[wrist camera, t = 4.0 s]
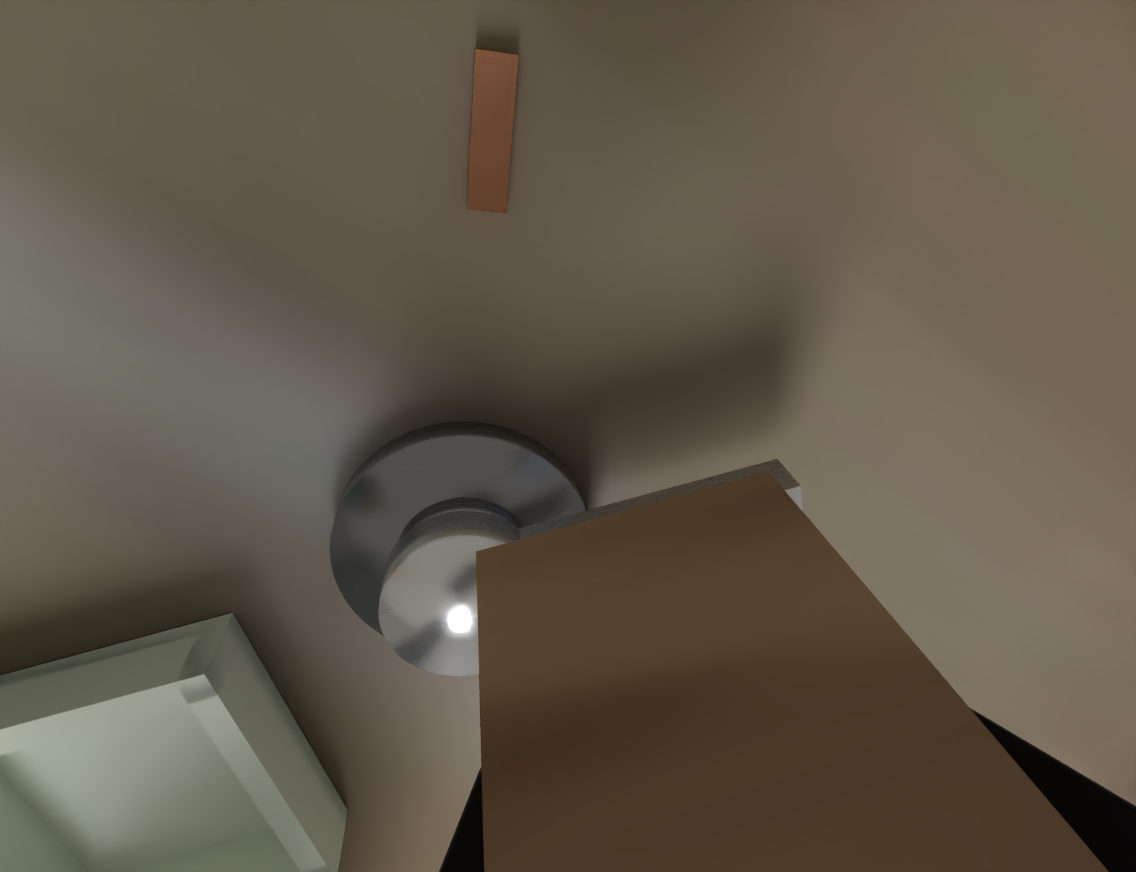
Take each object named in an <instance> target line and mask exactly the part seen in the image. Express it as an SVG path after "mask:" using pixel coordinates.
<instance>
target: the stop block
mask: <svg viewBox="0 0 1136 872" xmlns="http://www.w3.org/2000/svg"><path fill="white" fill-rule="evenodd" d="M476 575H477V613H478V651H479V689H480V727H481V765H482V803H483V841H484V872H1109V871H1108V870H1107V869H1106V868H1105V867H1104V866H1103V864H1102V863H1101V862H1100V861H1099V860H1098V858H1097V857H1096V856H1095V855H1094V854H1093V853H1092V851H1091V850H1090V849H1089V848H1088V847H1087V846H1086V844H1085V843H1084V842H1083V841H1082V840H1081V838H1080V837H1079V836H1078V835H1077V834H1076V833H1075V831H1074V830H1073V829H1072V828H1071V827H1070V826H1069V824H1068V823H1067V822H1066V821H1065V820H1064V818H1063V817H1062V816H1061V815H1060V814H1059V813H1058V811H1057V810H1056V809H1055V808H1054V807H1053V806H1052V804H1051V803H1050V802H1049V801H1048V800H1047V798H1046V797H1045V796H1044V795H1043V794H1042V793H1041V791H1040V790H1039V789H1038V788H1037V787H1036V786H1035V784H1034V783H1033V782H1032V781H1031V780H1030V778H1029V777H1028V776H1027V775H1026V774H1025V773H1024V771H1023V770H1022V769H1021V768H1020V767H1019V766H1018V764H1017V763H1016V762H1015V761H1014V760H1013V758H1012V757H1011V756H1010V755H1009V754H1008V753H1007V751H1006V750H1005V749H1004V748H1003V747H1002V746H1001V744H1000V743H999V742H998V741H997V740H996V738H995V737H994V736H993V735H992V734H991V733H990V731H989V730H988V729H987V728H986V727H985V726H984V724H983V723H982V722H981V721H980V720H979V718H978V717H977V716H976V715H975V714H974V713H973V711H972V710H971V709H970V708H969V707H968V706H967V704H966V703H965V702H964V701H963V700H962V698H961V697H960V696H959V695H958V694H957V693H956V691H955V690H954V689H953V688H952V687H951V686H950V684H949V683H948V682H947V681H946V680H945V678H944V677H943V676H942V675H941V674H940V673H939V671H938V670H937V669H936V668H935V667H934V666H933V664H932V663H931V662H930V661H929V660H928V658H927V657H926V656H925V655H924V654H923V653H922V651H921V650H920V649H919V648H918V647H917V646H916V644H915V643H914V642H913V641H912V640H911V638H910V637H909V636H908V635H907V634H906V633H905V631H904V630H903V629H902V628H901V627H900V626H899V624H898V623H897V622H896V621H895V620H894V618H893V617H892V616H891V615H890V614H889V613H888V611H887V610H886V609H885V608H884V607H883V606H882V604H881V603H880V602H879V601H878V600H877V598H876V597H875V596H874V595H873V594H872V593H871V591H870V590H869V589H868V588H867V587H866V586H865V584H864V583H863V582H862V581H861V580H860V578H859V577H858V576H857V575H856V574H855V573H854V571H853V570H852V569H851V568H850V567H849V566H848V564H847V563H846V562H845V561H844V560H843V558H842V557H841V556H840V555H839V554H838V553H837V551H836V550H835V549H834V548H833V547H832V546H831V544H830V543H829V542H828V541H827V540H826V538H825V537H824V536H823V535H822V534H821V533H820V531H819V530H818V529H817V528H816V527H815V526H814V524H813V523H812V522H811V521H810V520H809V518H808V517H807V516H806V515H805V514H804V513H803V511H802V510H801V509H800V508H799V507H798V506H797V504H796V503H795V502H794V501H793V500H792V498H791V497H790V496H789V495H788V494H787V493H786V491H785V490H784V489H783V488H782V487H781V486H780V484H779V483H778V482H777V481H776V480H775V478H774V477H773V476H772V475H771V474H770V473H769V471H768V472H765V473H761V474H757V475H754V476H750V477H746V478H743V479H739V480H735V481H732V482H728V483H724V484H721V485H717V486H713V487H710V488H706V489H702V490H699V491H695V492H691V493H688V494H684V495H681V496H677V497H673V498H670V499H666V500H662V501H659V502H655V503H651V504H648V505H644V506H640V507H637V508H633V509H629V510H626V511H622V512H618V513H615V514H611V515H607V516H604V517H600V518H596V519H593V520H589V521H585V522H582V523H578V524H574V525H571V526H567V527H563V528H560V529H556V530H552V531H549V532H545V533H541V534H538V535H534V536H530V537H527V538H523V539H519V540H516V541H512V542H509V543H505V544H501V545H498V546H494V547H490V548H487V549H483V550H479V551H476Z"/></svg>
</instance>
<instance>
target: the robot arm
mask: <svg viewBox="0 0 1136 872" xmlns="http://www.w3.org/2000/svg"><path fill="white" fill-rule="evenodd" d="M970 709H971V708H970ZM971 710H972V709H971ZM972 711H973V713H974V714H975V715H976V716H977V717H978V718H979V720H980V721H981V722H982V723H983V724H984V726H985V727H986V728H987V729H988V730H989V731H990V733H991V734H992V735H993V736H994V737H995V738H996V740H997V741H998V742H999V743H1000V744H1001V746H1002V747H1003V748H1004V749H1005V750H1006V751H1007V753H1008V754H1009V755H1010V756H1011V757H1012V758H1013V760H1014V761H1015V762H1016V763H1017V764H1018V766H1019V767H1020V768H1021V769H1022V770H1023V771H1024V773H1025V774H1026V775H1027V776H1028V777H1029V778H1030V780H1031V781H1032V782H1033V783H1034V784H1035V786H1036V787H1037V788H1038V789H1039V790H1040V791H1041V793H1042V794H1043V795H1044V796H1045V797H1046V798H1047V800H1048V801H1049V802H1050V803H1051V804H1052V806H1053V807H1054V808H1055V809H1056V810H1057V811H1058V813H1059V814H1060V815H1061V816H1062V817H1063V818H1064V820H1065V821H1066V822H1067V823H1068V824H1069V826H1070V827H1071V828H1072V829H1073V830H1074V831H1075V833H1076V834H1077V835H1078V836H1079V837H1080V838H1081V840H1082V841H1083V842H1084V843H1085V844H1086V846H1087V847H1088V848H1089V849H1090V850H1091V851H1092V853H1093V854H1094V855H1095V856H1096V857H1097V858H1098V860H1099V861H1100V862H1101V863H1102V864H1103V866H1104V867H1105V868H1106V869H1107V870H1108V871H1109V872H1136V806H1135V805H1133V804H1131V803H1129V802H1128V801H1126V800H1124V799H1123V798H1121V797H1119V796H1118V795H1116V794H1114V793H1113V792H1111V791H1109V790H1108V789H1106V788H1104V787H1102V786H1101V785H1099V784H1097V783H1096V782H1094V781H1092V780H1091V779H1089V778H1087V777H1086V776H1084V775H1082V774H1081V773H1079V772H1077V771H1075V770H1074V769H1072V768H1070V767H1069V766H1067V765H1065V764H1064V763H1062V762H1060V761H1059V760H1057V759H1055V758H1054V757H1052V756H1050V755H1048V754H1047V753H1045V752H1043V751H1042V750H1040V749H1038V748H1037V747H1035V746H1033V745H1032V744H1030V743H1028V742H1027V741H1025V740H1023V739H1021V738H1020V737H1018V736H1016V735H1015V734H1013V733H1011V732H1010V731H1008V730H1006V729H1005V728H1003V727H1001V726H999V725H998V724H996V723H994V722H993V721H991V720H989V719H988V718H986V717H984V716H983V715H981V714H979V713H978V712H976V711H974V710H972ZM439 872H484V841H483V803H482V767H481V768H480V771H479V773H478V775H477V778H476V780H475V783H474V785H473V788H472V790H471V793H470V795H469V798H468V800H467V803H466V805H465V808H464V810H463V813H462V815H461V818H460V821H459V823H458V826H457V828H456V831H455V833H454V836H453V838H452V841H451V843H450V846H449V848H448V851H447V853H446V856H445V858H444V861H443V863H442V866H441V868H440V871H439Z"/></svg>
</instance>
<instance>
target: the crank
mask: <svg viewBox="0 0 1136 872" xmlns="http://www.w3.org/2000/svg"><path fill="white" fill-rule="evenodd" d="M768 471H769V473H770V474H771V475H772V476H773V477H774V478H775V480H776V481H777V482H778V483H779V484H780V486H781V487H782V488H783V489H784V490H785V491H786V493H787V494H788V495H789V496H790V497H791V498H792V500H793V501H794V502H795V503H796V504H797V506H798V507H799V508H800V509H801V510H802V511H803V504H802V493H801V486H800V484H799V483H798V482H797V481H796V480H795V479H794V477H793V476H792V475H791V474H790V473H789V472H788V471H787V469H786V468H785V467H784V466H783V465H782V464H781V462H780V461H779V460H778V459H775V460H771V461H767V462H764V463H760V464H756V465H753V466H749V467H745V468H742V469H738V470H734V471H730V472H727V473H723V474H719V475H716V476H712V477H708V478H705V479H701V480H697V481H693V482H690V483H686V484H682V485H679V486H675V487H671V488H668V489H664V490H660V491H656V492H653V493H649V494H645V495H642V496H638V497H634V498H631V499H627V500H623V501H619V502H616V503H612V504H608V505H605V506H601V507H597V508H594V509H590V510H586V511H582V512H579V513H575V514H571V515H568V516H564V517H560V518H557V519H553V520H549V521H545V522H542V523H538V524H534V525H531V526H527V527H523V528H520V529H519V528H518V527H516V526H515V525H513V524H512V523H510V522H508V521H506V520H504V519H503V518H500V517H497V516H495V515H491V514H487V513H483V512H476V511H455V512H448V513H443V514H439V515H436V516H433V517H430V518H428V519H426V520H424V521H422V522H420V523H418V524H417V525H415V526H414V527H412V528H411V529H410V530H408V531H407V532H406V533H405V534H404V535H403V536H402V537H401V538H400V539H399V540H398V541H397V543H396V544H395V546H394V547H393V549H392V551H391V553H390V555H389V557H388V560H387V563H386V568H385V573H384V579H383V584H382V590H381V596H380V601H379V608H378V615H379V623H380V627H381V630H382V633H383V635H384V637H385V639H386V640H387V642H388V644H389V645H390V646H391V647H392V649H393V650H394V651H395V652H396V653H397V654H398V655H399V656H400V657H402V658H403V659H405V660H406V661H407V662H409V663H411V664H412V665H414V666H416V667H418V668H421V669H423V670H425V671H429V672H432V673H436V674H441V675H448V676H470V675H478V674H479V651H478V613H477V575H476V551H479V550H483V549H487V548H490V547H494V546H498V545H501V544H505V543H509V542H512V541H516V540H519V539H523V538H527V537H530V536H534V535H538V534H541V533H545V532H549V531H552V530H556V529H560V528H563V527H567V526H571V525H574V524H578V523H582V522H585V521H589V520H593V519H596V518H600V517H604V516H607V515H611V514H615V513H618V512H622V511H626V510H629V509H633V508H637V507H640V506H644V505H648V504H651V503H655V502H659V501H662V500H666V499H670V498H673V497H677V496H681V495H684V494H688V493H691V492H695V491H699V490H702V489H706V488H710V487H713V486H717V485H721V484H724V483H728V482H732V481H735V480H739V479H743V478H746V477H750V476H754V475H757V474H761V473H765V472H768Z"/></svg>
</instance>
